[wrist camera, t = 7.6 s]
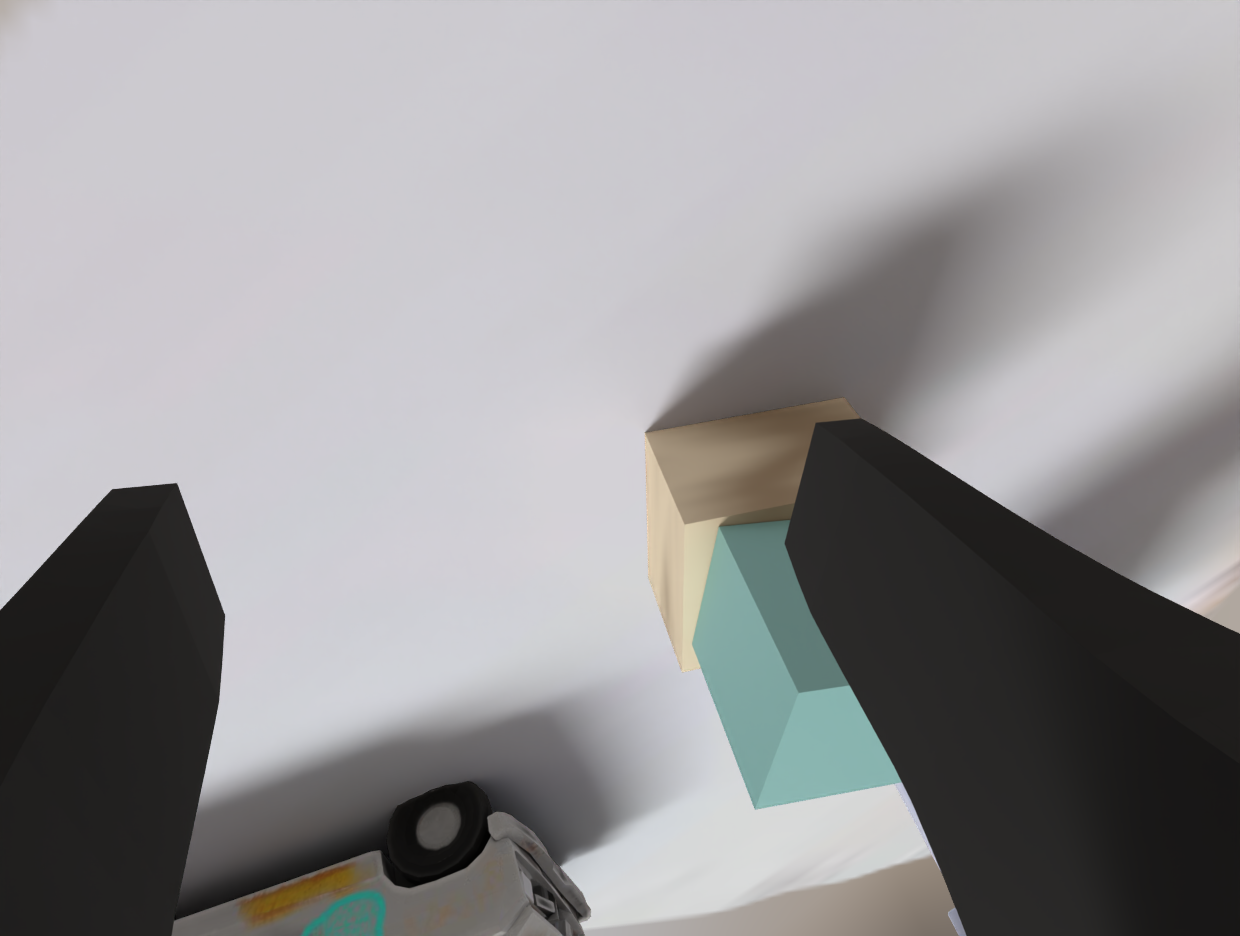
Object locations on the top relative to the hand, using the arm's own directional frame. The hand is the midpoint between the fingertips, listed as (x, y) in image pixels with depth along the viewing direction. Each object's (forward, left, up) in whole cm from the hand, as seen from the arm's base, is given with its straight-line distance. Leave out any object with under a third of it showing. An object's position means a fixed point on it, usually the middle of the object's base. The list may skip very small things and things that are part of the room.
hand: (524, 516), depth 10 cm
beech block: (-8, +10, -11) cm, 16 cm away
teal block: (-8, +9, -7) cm, 14 cm away
